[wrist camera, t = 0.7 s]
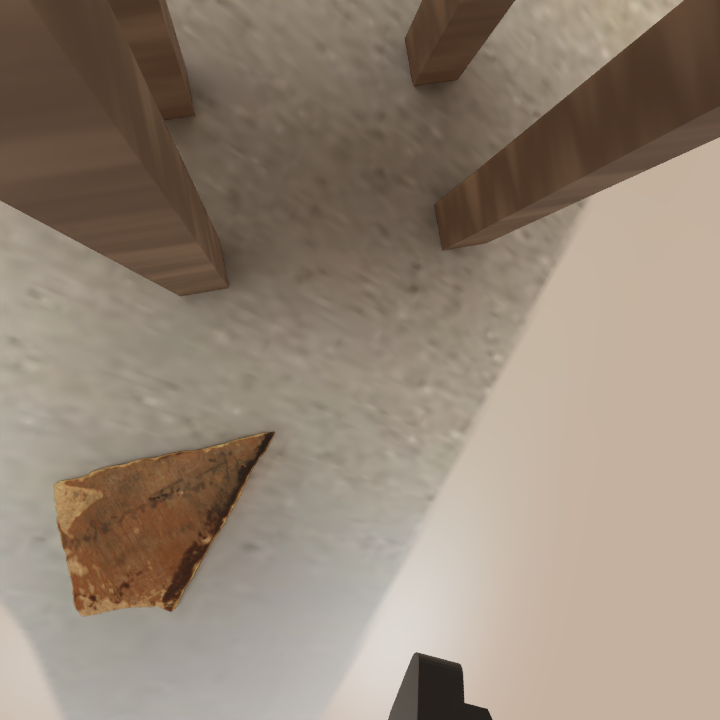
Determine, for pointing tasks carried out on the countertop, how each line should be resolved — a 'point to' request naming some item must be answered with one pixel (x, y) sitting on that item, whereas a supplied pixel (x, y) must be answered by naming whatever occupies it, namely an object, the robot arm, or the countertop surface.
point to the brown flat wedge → (149, 523)
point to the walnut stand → (428, 65)
